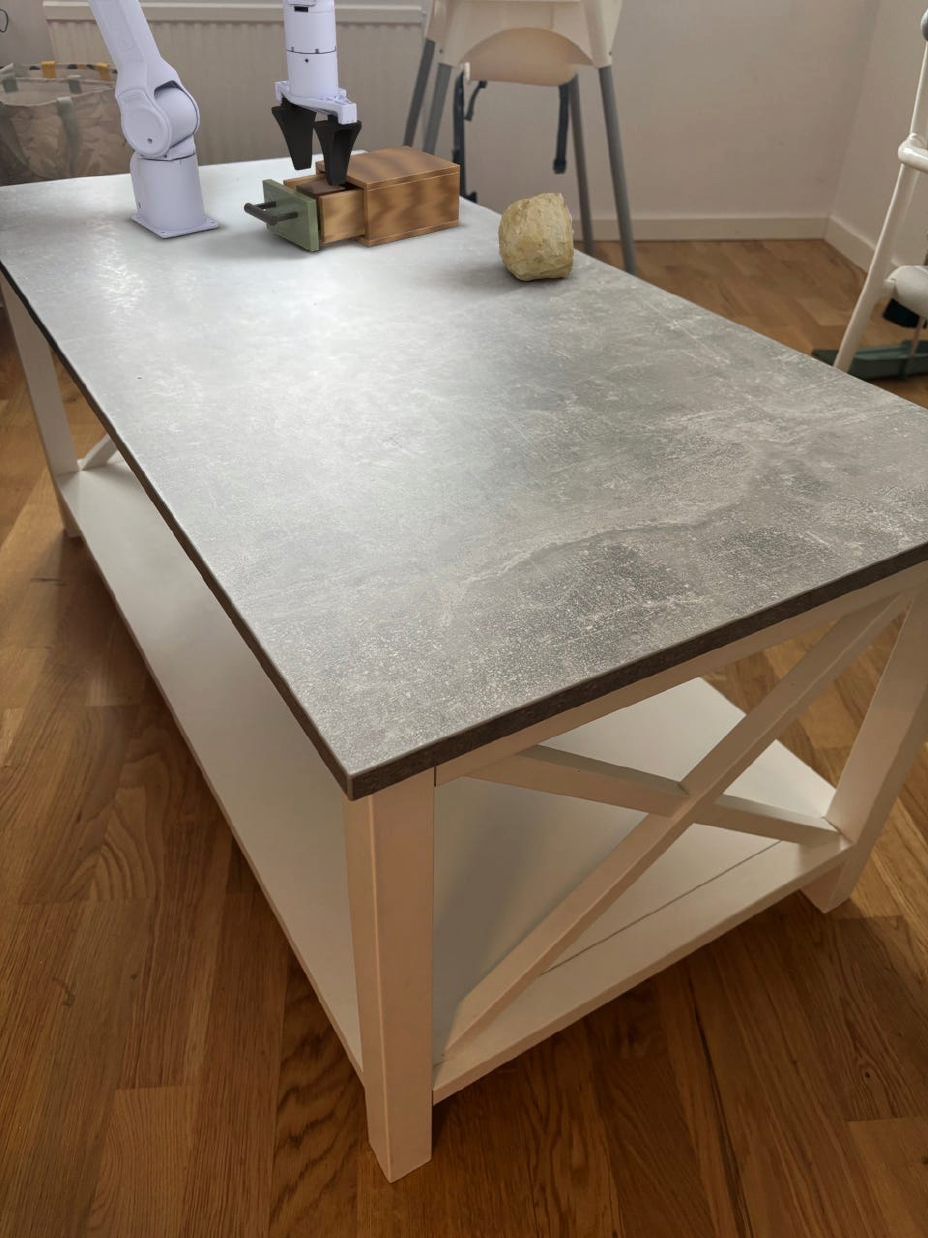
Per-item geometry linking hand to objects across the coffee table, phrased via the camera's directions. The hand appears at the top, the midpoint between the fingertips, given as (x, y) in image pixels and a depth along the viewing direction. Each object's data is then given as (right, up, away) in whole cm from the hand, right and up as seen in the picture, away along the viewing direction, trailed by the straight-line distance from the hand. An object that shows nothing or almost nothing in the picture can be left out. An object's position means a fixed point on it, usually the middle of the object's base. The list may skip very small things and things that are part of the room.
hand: (319, 176), depth 118 cm
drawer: (0, -5, +4) cm, 7 cm away
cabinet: (+8, -2, +10) cm, 13 cm away
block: (0, -4, +4) cm, 6 cm away
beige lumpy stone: (+26, -13, -3) cm, 29 cm away
